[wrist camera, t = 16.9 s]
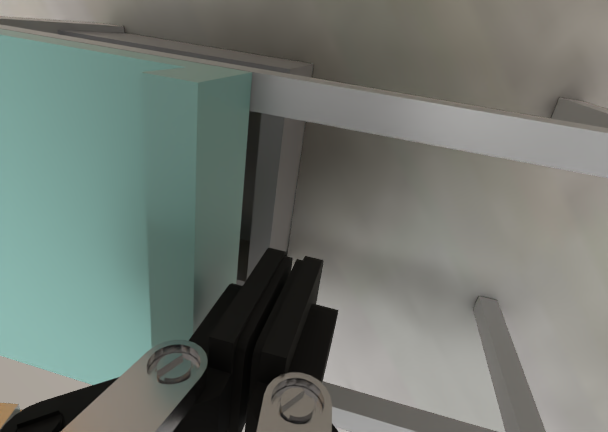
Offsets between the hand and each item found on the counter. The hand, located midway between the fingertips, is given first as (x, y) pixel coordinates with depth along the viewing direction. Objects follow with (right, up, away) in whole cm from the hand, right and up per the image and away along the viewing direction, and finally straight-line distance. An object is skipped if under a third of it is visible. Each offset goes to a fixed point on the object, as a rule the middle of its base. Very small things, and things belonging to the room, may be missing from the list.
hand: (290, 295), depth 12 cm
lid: (-8, +2, +2) cm, 8 cm away
